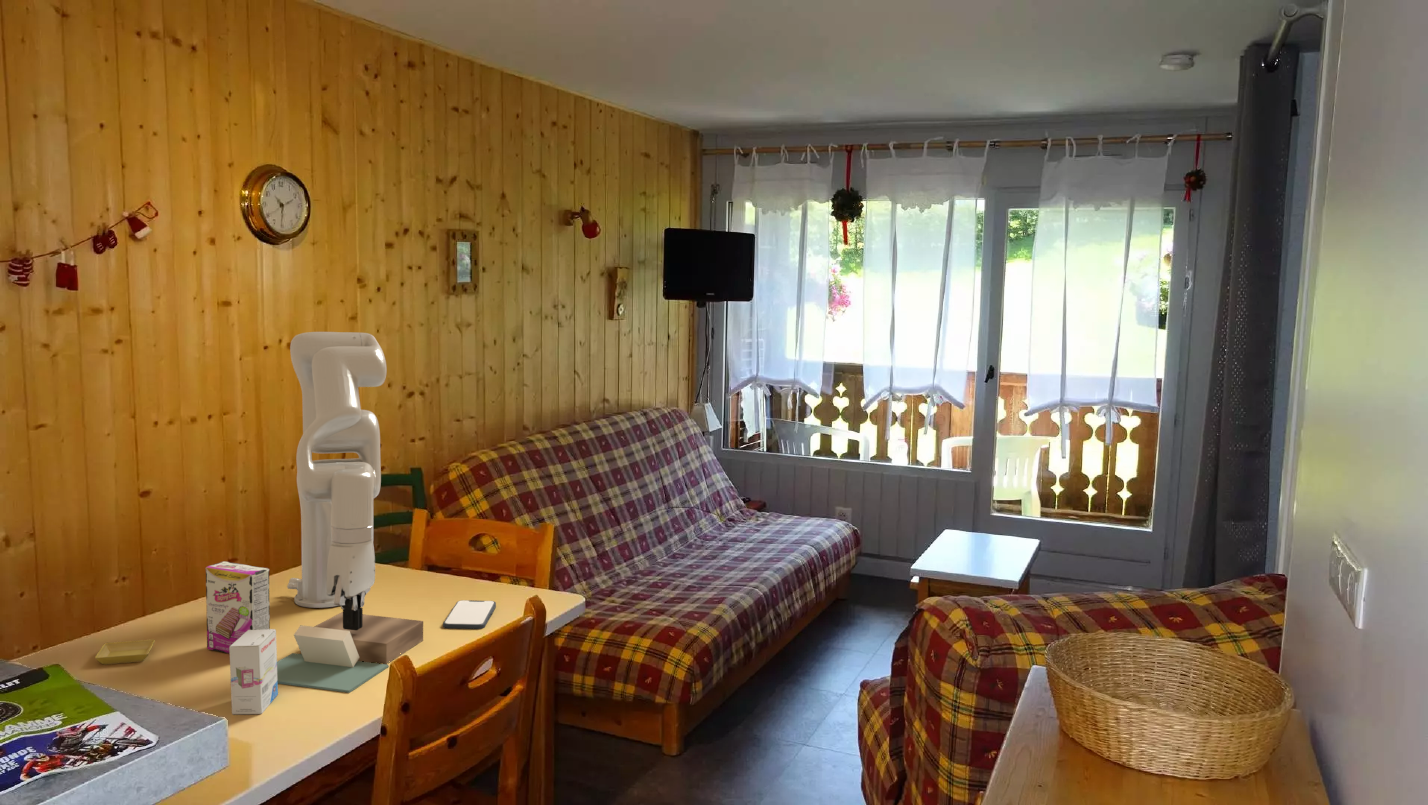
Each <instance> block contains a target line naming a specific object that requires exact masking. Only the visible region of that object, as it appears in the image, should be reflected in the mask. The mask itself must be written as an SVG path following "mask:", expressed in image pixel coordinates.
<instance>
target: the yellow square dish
mask: <svg viewBox="0 0 1428 805" xmlns="http://www.w3.org/2000/svg"><path fill="white" fill-rule="evenodd" d="M155 642H156V640H155V639H140V640H139V639H138V640H126V641H115V642H106V643H103V645H102V646H101V647H100V649H99V651H98V652H97V654H96V655H95V656H94V659H95V660H96V661H97V662H99V664H101V665H114V664H115V665H117V664H129V663H138V662H139V663H140V662H141V663H142V662H144V661H145V660H146V658H147V657H148V656H149V653H150V651H151V650H152V647H153V646H154V644H155Z"/></svg>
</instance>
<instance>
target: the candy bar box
mask: <svg viewBox="0 0 1428 805" xmlns="http://www.w3.org/2000/svg"><path fill="white" fill-rule="evenodd" d="M205 596H206V597H205V599H206V601H205V603H206V649H207V650H211V651H215V652H219V653H225V654H230V651H229V647H230V646H231V645H232V644H233V643H234V642H235V641H236V640H238V639H239V638H240V637H241V636H242V635H243V634H244V633H245V632H247V631H248V630H263V629H271V623H270V618H271V616H270V609H271V608H270V607H271V606H270V568H268V567H260V566H252V565H248V564H243V563H236V562H232V561H231V562H230V561H220V562H217V563H214V564H211V565H208V566H206V567H205Z"/></svg>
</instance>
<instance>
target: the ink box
mask: <svg viewBox="0 0 1428 805" xmlns="http://www.w3.org/2000/svg"><path fill="white" fill-rule="evenodd" d="M229 651H230V653H229V666H230V667H229V669H230V695H231V698H230V699H231V714H232V715H261V714H263V713H264V712H265V711H266V709H267V708H268V707H269V706H270V704H271V703H272V702H273V701H274V700H275V699H276V698H277V696H278V695H279V691H278V690H279V688H278V687H279V685H278V683H277V661H278V658H277V657H278V654H277V653H278V652H277V630H276V629H275V628H270V629H263V630H248V631H247V632H245V633H244V634H243V635H242V636H241V637H240V638H239V639H238V640H236V641H235V642H234V643H233V644H232V645H231V646H230V647H229Z"/></svg>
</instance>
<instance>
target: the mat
mask: <svg viewBox="0 0 1428 805" xmlns="http://www.w3.org/2000/svg"><path fill="white" fill-rule="evenodd" d="M388 668H389V664H379V663H371V662H362V661H357V662H356V664H355V665H354V667H347V666H339V665H331V664H323V663H315V662H307V661H304V658H303V656H302V654H301V653H296V652H292V653H291V654H289V655H287V656H285V657H282V658H281V659H279V660H277V683H278V684H279V685H286V686H287V685H288V686H293V687H294V686H296V687H303V688H309V689H310V688H311V689H317V690H318V689H319V690H324V691H325V690H326V691H333V692H341V693H348V694H349V693H352V692H354V690H356V689H357V688H359V687H360V686H362V685H363V684H365V683H366V682H368V681H369V680H371V679H372V678H374V677H376V676H377V675H379V674H380V673H381V672H383V671H385V670H386V669H388Z"/></svg>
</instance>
